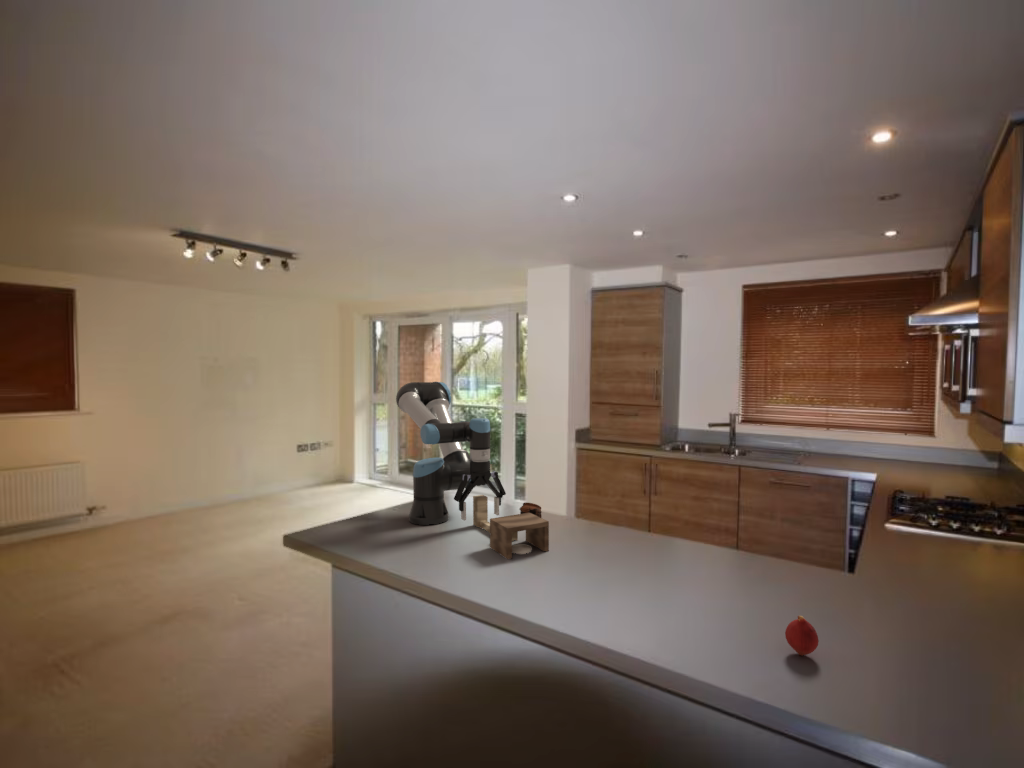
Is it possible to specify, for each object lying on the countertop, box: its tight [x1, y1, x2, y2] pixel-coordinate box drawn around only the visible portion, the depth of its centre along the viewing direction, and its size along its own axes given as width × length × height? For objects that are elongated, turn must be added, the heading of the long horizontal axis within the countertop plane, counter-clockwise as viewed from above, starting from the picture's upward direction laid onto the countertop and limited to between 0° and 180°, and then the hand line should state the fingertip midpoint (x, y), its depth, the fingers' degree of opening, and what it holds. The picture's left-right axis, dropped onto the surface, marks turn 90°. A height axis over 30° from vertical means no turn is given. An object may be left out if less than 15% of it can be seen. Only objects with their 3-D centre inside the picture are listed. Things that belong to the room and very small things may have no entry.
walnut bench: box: [489, 513, 550, 560], centre depth 167 cm, size 12×15×10 cm
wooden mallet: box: [472, 494, 519, 542], centre depth 184 cm, size 23×8×11 cm, turn 29°
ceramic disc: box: [512, 543, 533, 555], centre depth 166 cm, size 7×7×1 cm
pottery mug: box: [518, 502, 542, 518], centre depth 198 cm, size 12×9×8 cm
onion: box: [784, 615, 820, 656], centre depth 105 cm, size 6×6×8 cm
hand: (480, 517), depth 193 cm, fingers open, 13 cm apart
